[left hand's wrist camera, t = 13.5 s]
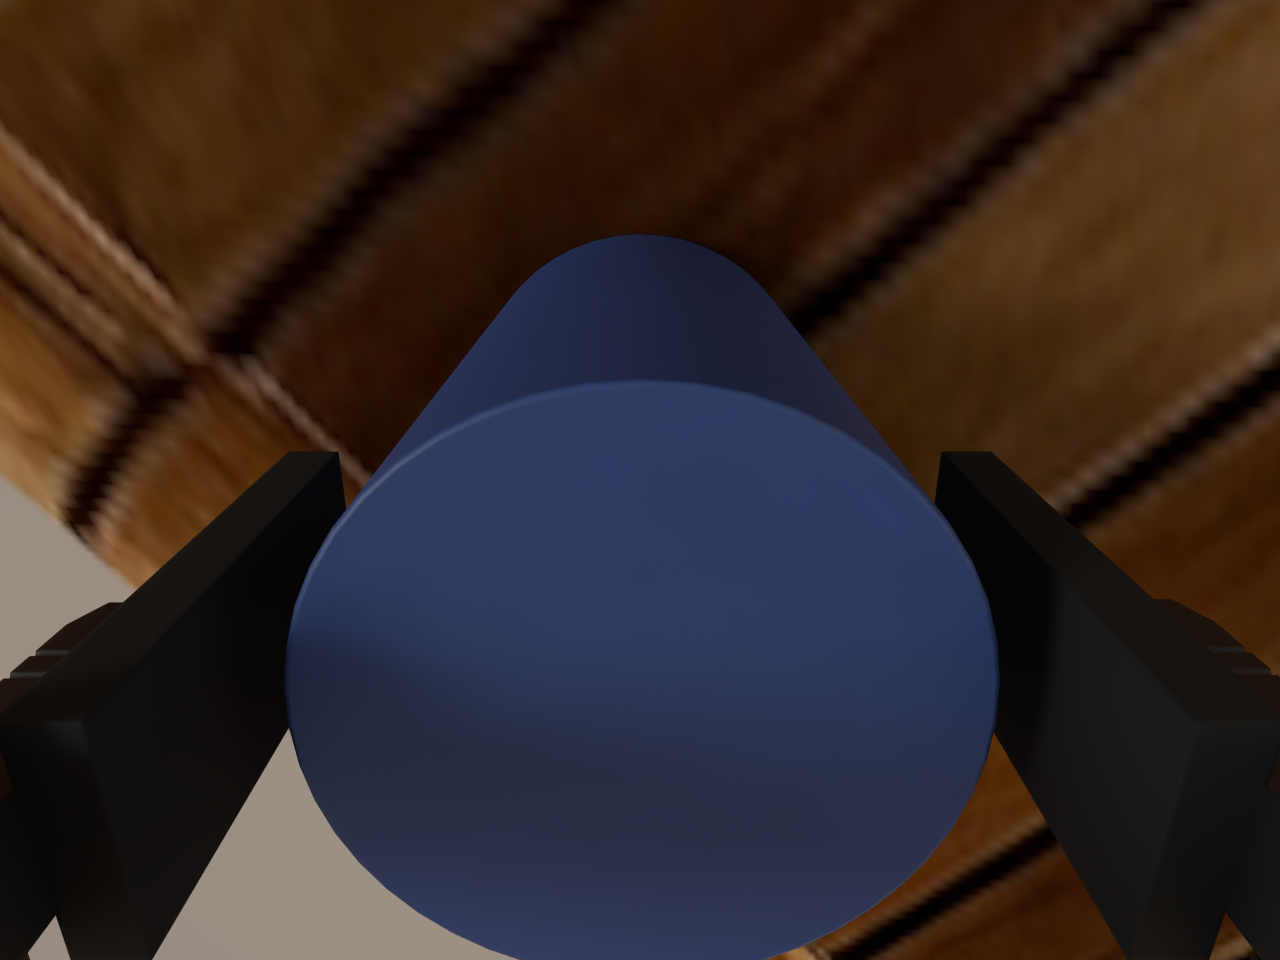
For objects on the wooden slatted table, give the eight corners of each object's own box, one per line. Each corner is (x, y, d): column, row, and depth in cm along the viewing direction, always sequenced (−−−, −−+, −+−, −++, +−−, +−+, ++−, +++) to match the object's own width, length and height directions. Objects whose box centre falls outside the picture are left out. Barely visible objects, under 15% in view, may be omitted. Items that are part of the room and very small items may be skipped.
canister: (472, 526, 22) (291, 951, 10) (489, 213, 19) (268, 332, 8) (770, 559, 22) (907, 1006, 11) (830, 256, 19) (1100, 431, 8)
